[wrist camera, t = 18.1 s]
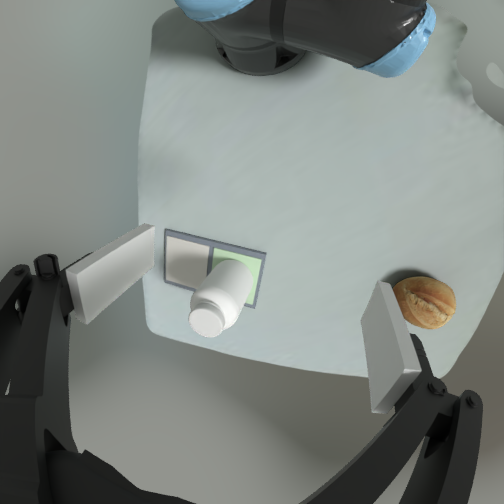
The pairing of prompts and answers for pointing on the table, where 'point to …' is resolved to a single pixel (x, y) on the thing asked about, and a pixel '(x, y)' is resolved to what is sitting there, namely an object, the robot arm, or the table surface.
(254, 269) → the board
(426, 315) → the bread roll
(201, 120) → the table surface
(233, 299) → the pill bottle
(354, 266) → the table surface
